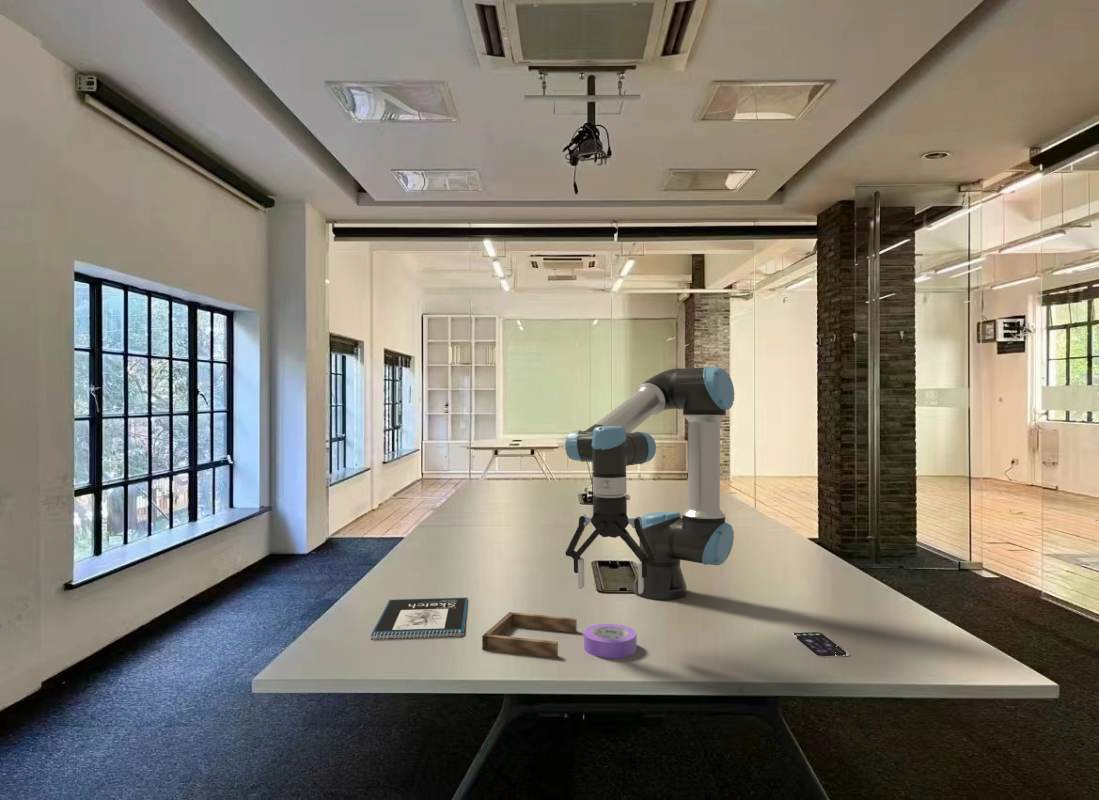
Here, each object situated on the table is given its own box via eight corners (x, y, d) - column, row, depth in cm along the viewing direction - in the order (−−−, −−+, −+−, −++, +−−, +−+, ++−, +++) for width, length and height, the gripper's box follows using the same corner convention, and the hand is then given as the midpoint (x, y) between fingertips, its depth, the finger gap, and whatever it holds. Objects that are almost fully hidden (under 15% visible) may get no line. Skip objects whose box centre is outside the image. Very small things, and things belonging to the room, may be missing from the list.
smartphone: (820, 631, 158) (852, 655, 143) (820, 634, 158) (852, 658, 143) (789, 632, 158) (817, 656, 143) (789, 635, 158) (818, 659, 143)
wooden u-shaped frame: (576, 631, 159) (576, 618, 159) (556, 657, 143) (556, 643, 143) (509, 624, 164) (509, 612, 164) (482, 649, 148) (482, 635, 148)
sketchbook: (467, 602, 185) (467, 594, 185) (463, 640, 155) (463, 631, 155) (389, 603, 183) (389, 596, 183) (370, 642, 153) (370, 633, 153)
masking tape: (635, 661, 141) (635, 643, 141) (581, 657, 143) (581, 639, 143) (637, 641, 153) (637, 625, 153) (587, 638, 155) (587, 622, 155)
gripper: (551, 495, 148) (552, 590, 148) (663, 499, 141) (664, 598, 141) (560, 491, 155) (561, 581, 156) (667, 494, 148) (668, 588, 148)
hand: (610, 589), depth 148 cm, fingers open, 13 cm apart
